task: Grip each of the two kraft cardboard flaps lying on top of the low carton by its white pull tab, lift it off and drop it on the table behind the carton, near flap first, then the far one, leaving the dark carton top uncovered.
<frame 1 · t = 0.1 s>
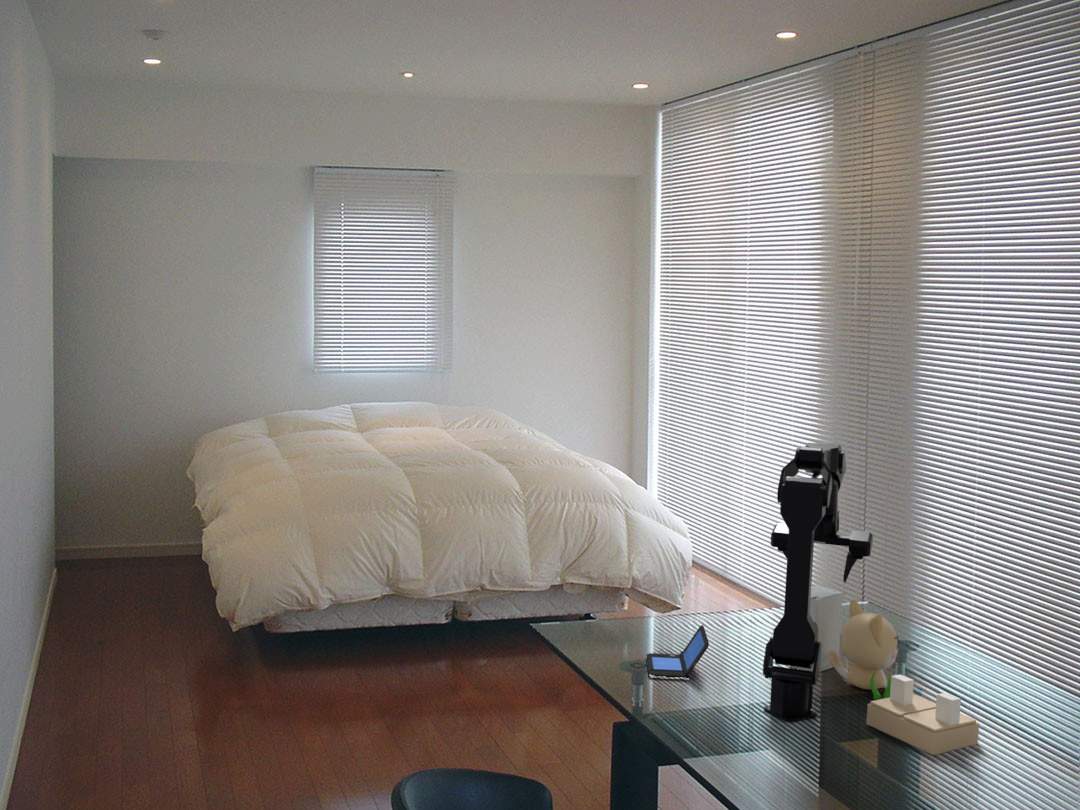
hand: (820, 578, 219), 15 cm above the table, tool pointing down, fingers open, 9 cm apart
skincare box: (813, 668, 214), on the table
handheld game console: (676, 671, 210), on the table
kitten: (867, 689, 203), on the table
flap near: (939, 720, 178), point 3 cm above the table, touching carton
flap far: (905, 705, 184), point 3 cm above the table, touching carton
carton: (920, 733, 181), on the table
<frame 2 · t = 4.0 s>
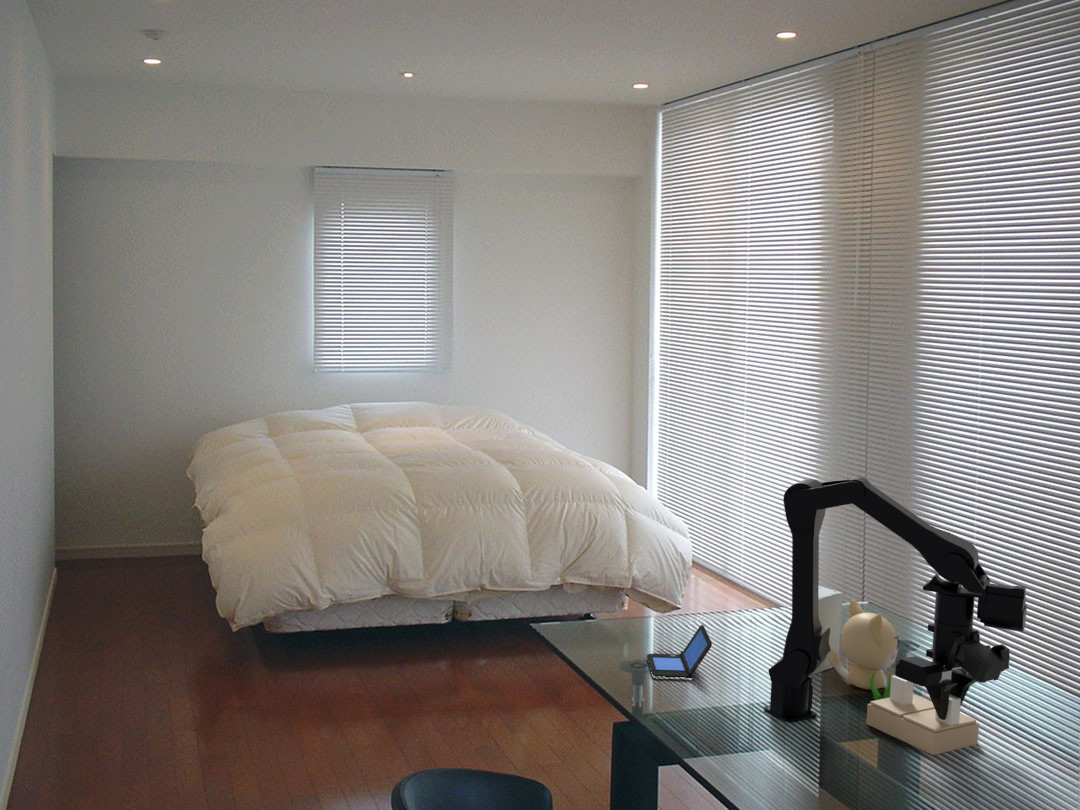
hand: (947, 717, 177), 4 cm above the table, tool pointing down, fingers closed on flap near, 2 cm apart
flap near: (939, 720, 178), point 3 cm above the table, touching carton, gripper
everything else where it was.
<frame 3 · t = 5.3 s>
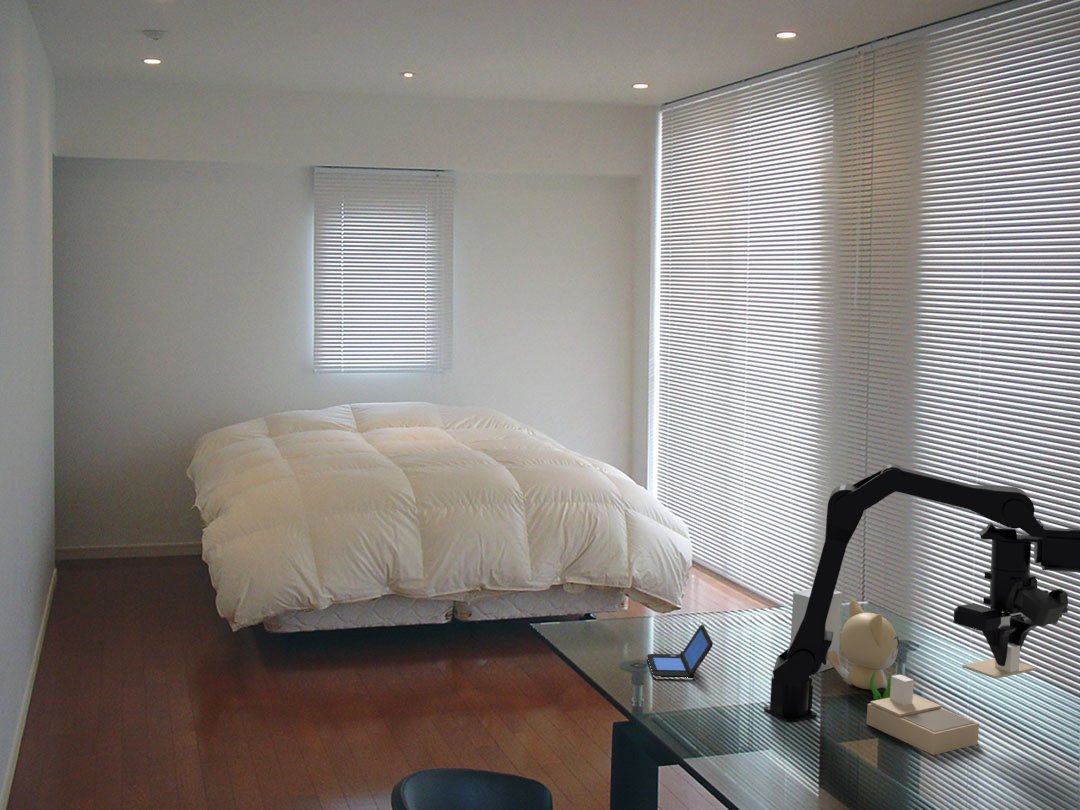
hand: (1006, 664, 178), 13 cm above the table, tool pointing down, fingers closed on flap near
flap near: (998, 668, 179), point 12 cm above the table, touching gripper
everything else where it was.
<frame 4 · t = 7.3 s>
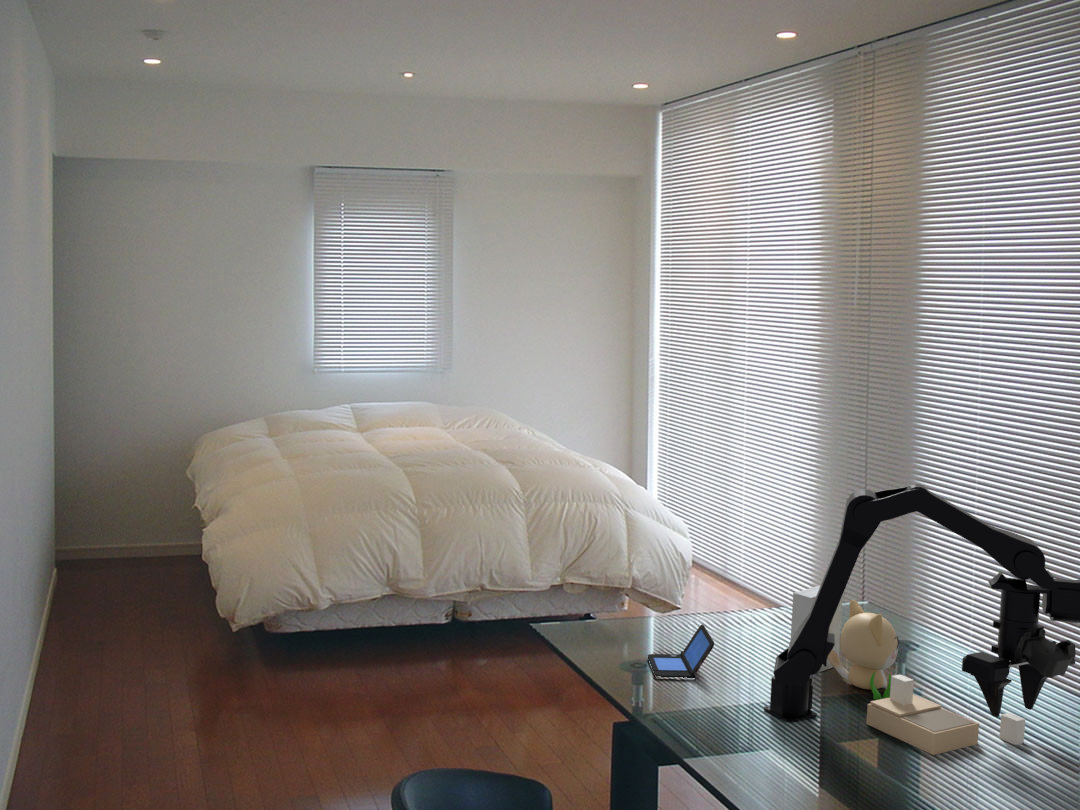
hand: (1012, 712, 180), 4 cm above the table, tool pointing down, fingers open, 8 cm apart
flap near: (1003, 740, 181), on the table
everything else where it was.
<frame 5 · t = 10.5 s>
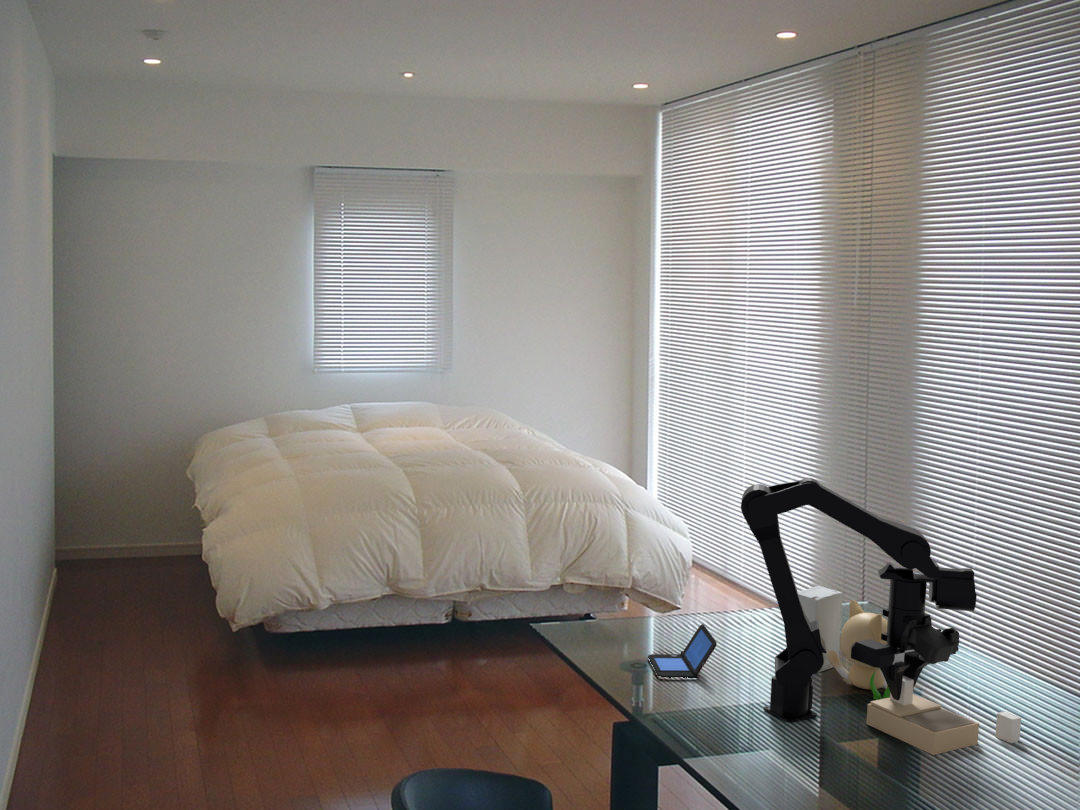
hand: (901, 698, 185), 4 cm above the table, tool pointing down, fingers closed on flap far, 2 cm apart
flap far: (905, 705, 184), point 4 cm above the table, touching carton, gripper
everything else where it was.
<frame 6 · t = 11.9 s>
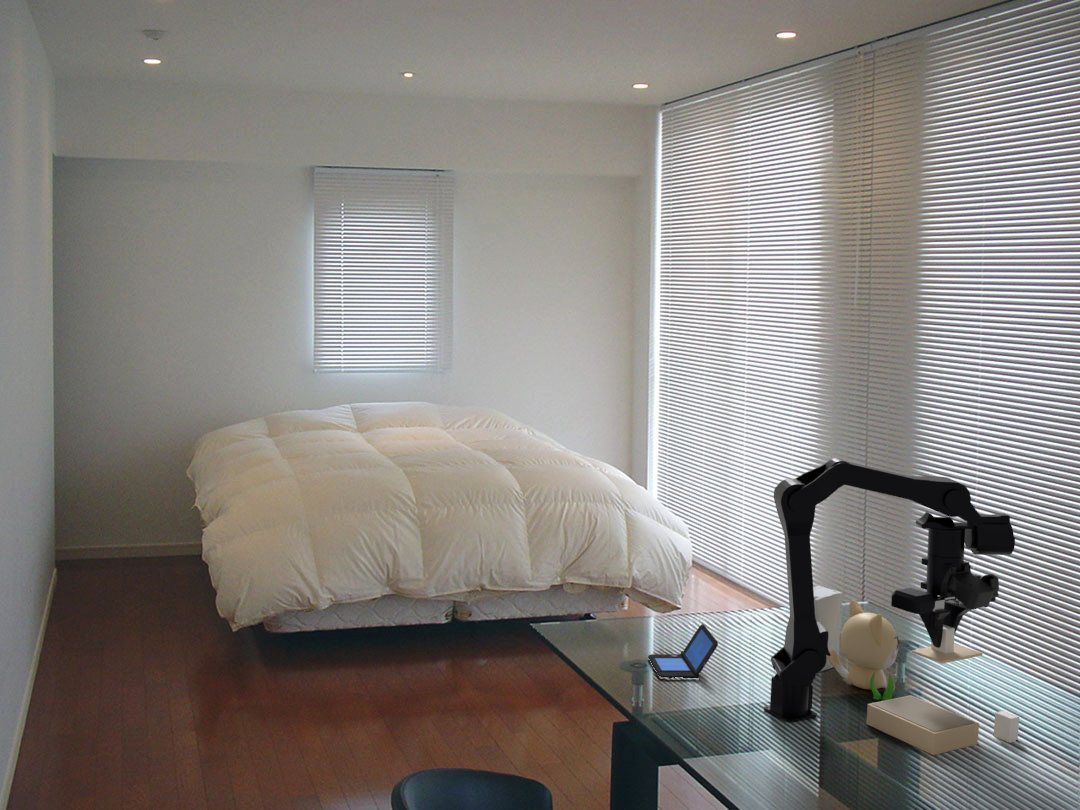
hand: (942, 646, 187), 13 cm above the table, tool pointing down, fingers closed on flap far
flap far: (946, 653, 186), point 12 cm above the table, touching gripper
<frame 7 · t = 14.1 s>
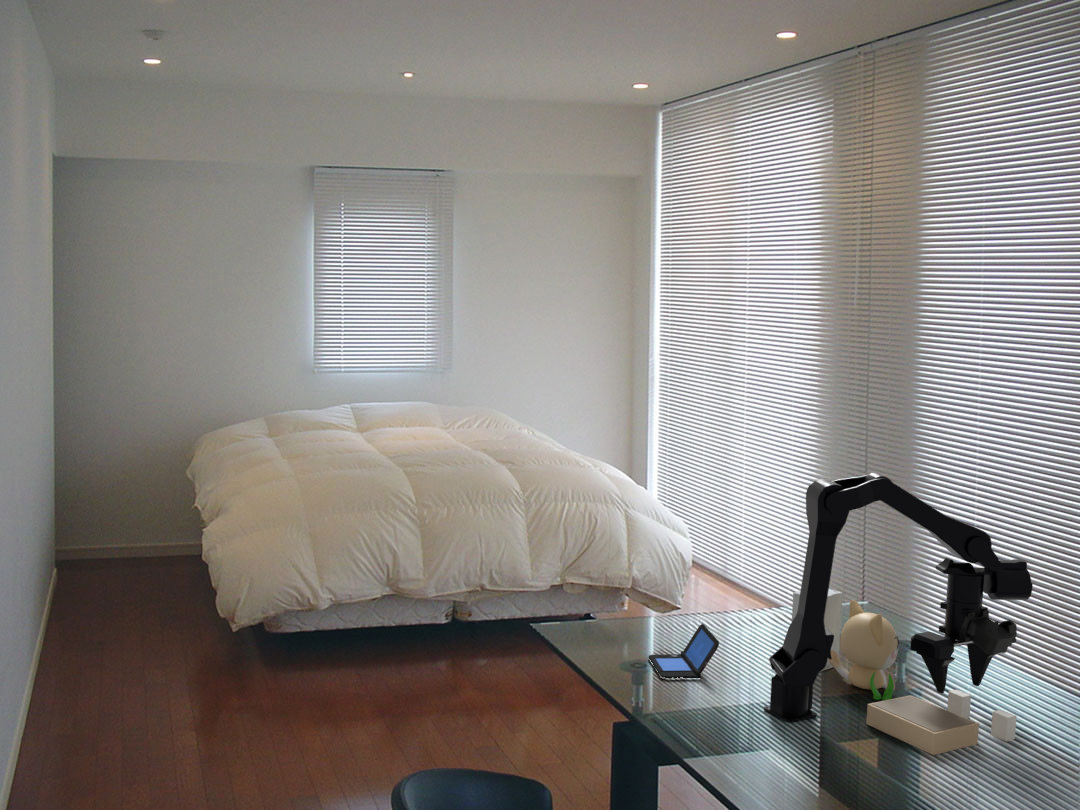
hand: (958, 689, 190), 5 cm above the table, tool pointing down, fingers open, 8 cm apart
flap far: (962, 720, 189), on the table
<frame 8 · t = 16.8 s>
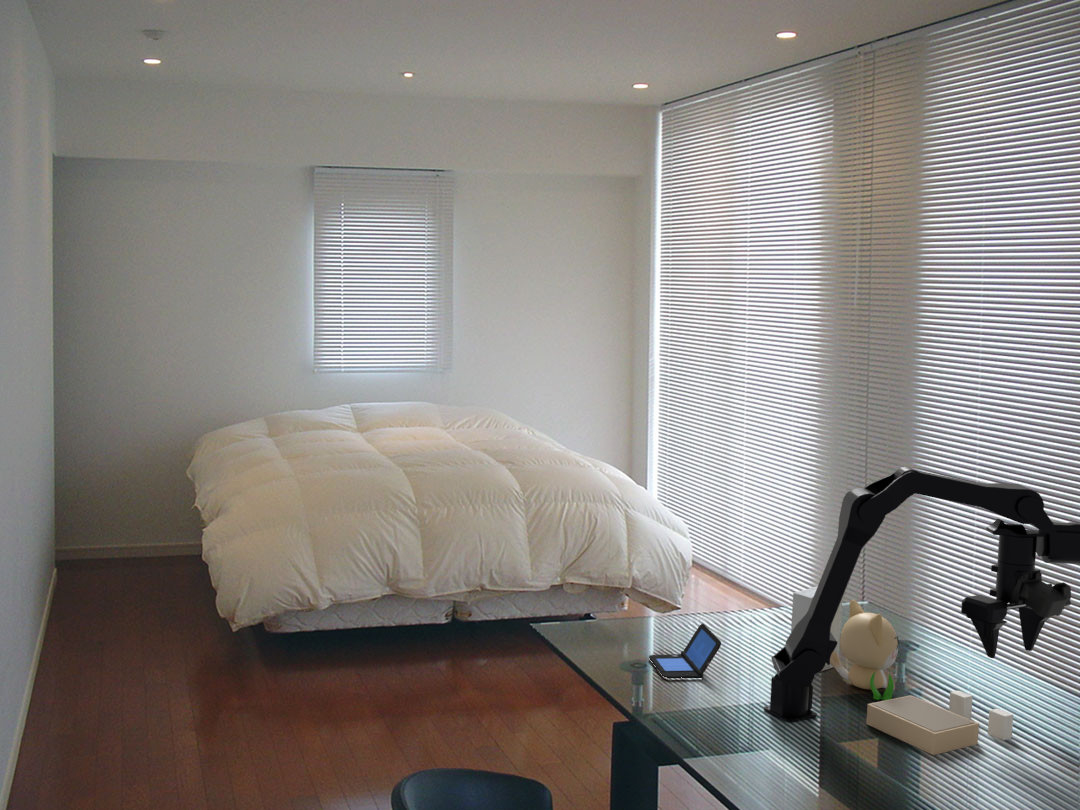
hand: (1009, 654, 186), 12 cm above the table, tool pointing down, fingers open, 9 cm apart
at the end: flap near inside the target area (5.8 cm from its centre), on the table; flap far inside the target area (6.1 cm from its centre), on the table; flap far touching table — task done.
